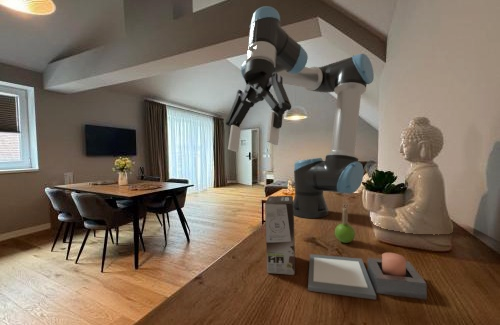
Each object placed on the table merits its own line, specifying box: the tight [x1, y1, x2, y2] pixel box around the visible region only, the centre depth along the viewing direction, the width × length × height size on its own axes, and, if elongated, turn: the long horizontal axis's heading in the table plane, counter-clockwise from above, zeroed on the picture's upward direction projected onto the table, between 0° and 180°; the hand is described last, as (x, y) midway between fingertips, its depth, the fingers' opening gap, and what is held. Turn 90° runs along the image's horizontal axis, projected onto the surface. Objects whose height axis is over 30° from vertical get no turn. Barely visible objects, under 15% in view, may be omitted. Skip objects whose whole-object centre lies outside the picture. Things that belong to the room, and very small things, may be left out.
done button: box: [381, 252, 407, 277], centre depth 45 cm, size 4×4×4 cm
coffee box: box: [264, 195, 296, 276], centre depth 54 cm, size 9×6×16 cm
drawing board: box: [307, 253, 377, 301], centre depth 49 cm, size 14×12×1 cm
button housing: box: [366, 257, 428, 300], centre depth 45 cm, size 8×8×3 cm
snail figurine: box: [334, 204, 356, 244], centre depth 65 cm, size 5×6×12 cm
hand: (250, 147), depth 52 cm, fingers open, 13 cm apart
